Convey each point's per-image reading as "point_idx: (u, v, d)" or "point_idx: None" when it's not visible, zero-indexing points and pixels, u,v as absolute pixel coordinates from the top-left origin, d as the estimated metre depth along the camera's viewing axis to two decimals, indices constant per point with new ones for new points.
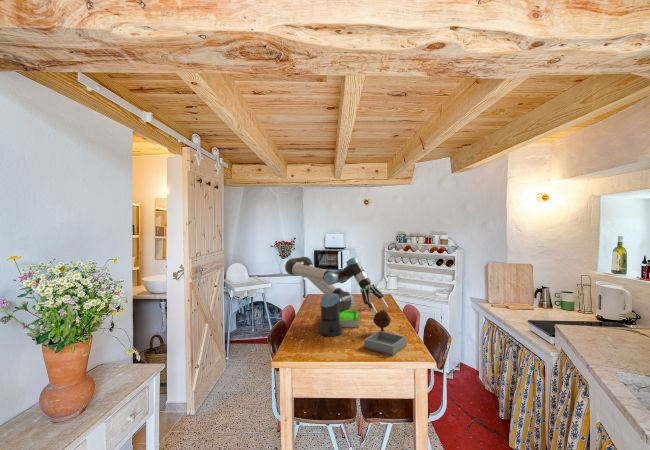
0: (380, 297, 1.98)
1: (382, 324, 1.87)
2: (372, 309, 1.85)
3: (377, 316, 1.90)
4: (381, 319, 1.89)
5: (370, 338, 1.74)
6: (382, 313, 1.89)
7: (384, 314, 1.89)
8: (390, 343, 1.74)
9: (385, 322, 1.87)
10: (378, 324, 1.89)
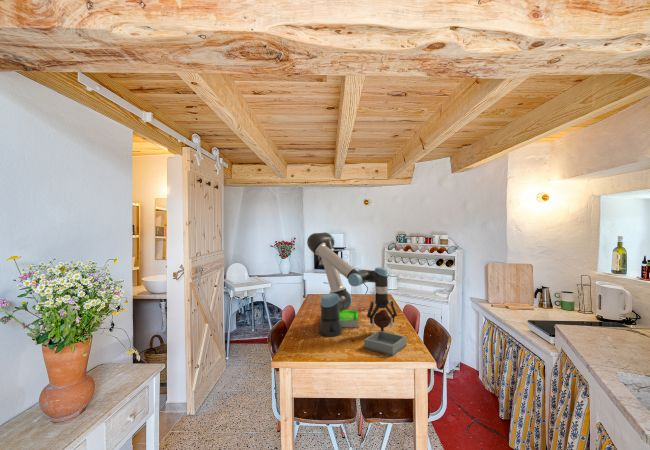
0: (391, 316, 1.93)
1: (382, 324, 1.87)
2: (372, 324, 1.92)
3: (377, 316, 1.90)
4: (381, 319, 1.89)
5: (370, 338, 1.74)
6: (382, 313, 1.89)
7: (384, 314, 1.89)
8: (390, 343, 1.74)
9: (385, 322, 1.87)
10: (378, 324, 1.89)
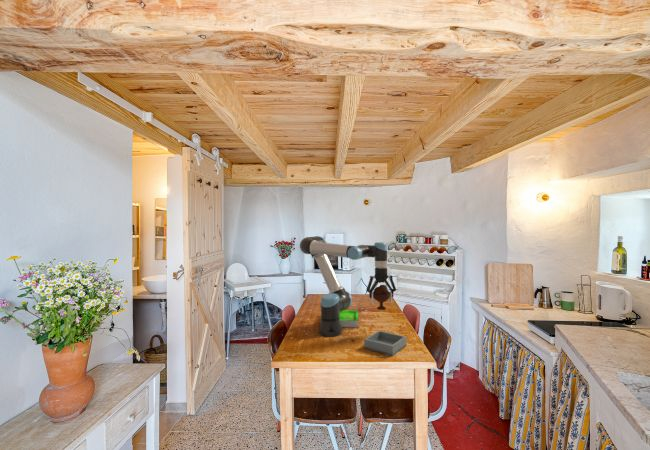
0: (391, 290, 1.93)
1: (381, 298, 1.87)
2: (371, 299, 1.92)
3: (376, 290, 1.90)
4: (380, 293, 1.89)
5: (370, 338, 1.74)
6: (381, 287, 1.89)
7: (383, 288, 1.89)
8: (390, 343, 1.74)
9: (384, 296, 1.87)
10: (377, 298, 1.89)
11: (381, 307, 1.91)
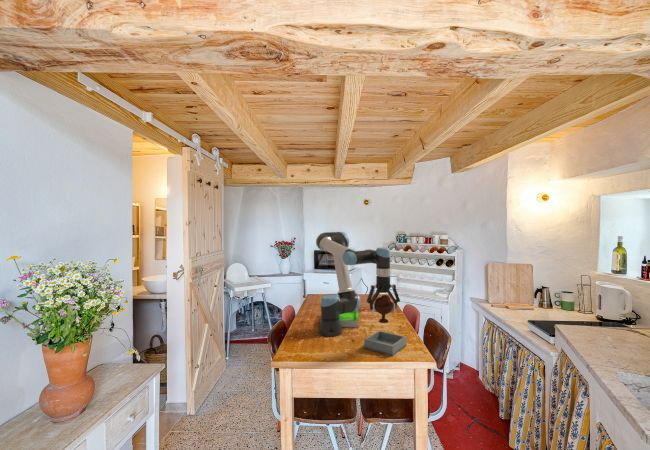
0: (394, 301, 1.74)
1: (384, 310, 1.68)
2: (372, 310, 1.72)
3: (378, 301, 1.70)
4: (383, 305, 1.69)
5: (370, 338, 1.74)
6: (384, 298, 1.69)
7: (386, 299, 1.69)
8: (390, 343, 1.74)
9: (387, 308, 1.68)
10: (379, 310, 1.69)
11: (383, 320, 1.72)
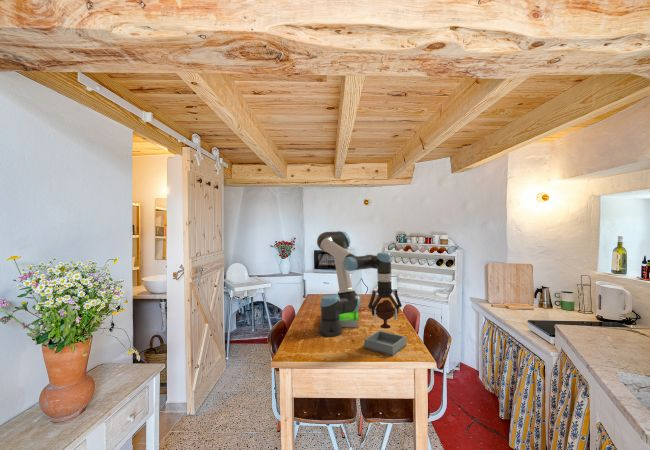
0: (395, 306, 1.73)
1: (385, 315, 1.67)
2: (373, 316, 1.71)
3: (380, 307, 1.69)
4: (384, 310, 1.68)
5: (370, 338, 1.74)
6: (385, 303, 1.69)
7: (387, 304, 1.68)
8: (390, 343, 1.74)
9: (389, 313, 1.67)
10: (381, 316, 1.68)
11: (385, 325, 1.71)
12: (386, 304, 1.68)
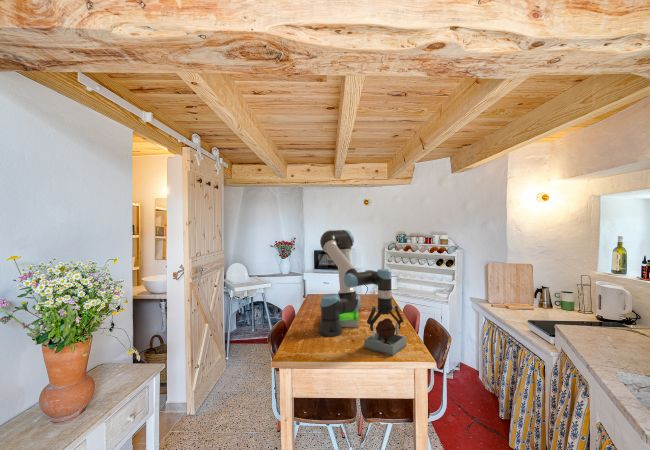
0: (397, 322, 1.73)
1: (386, 334, 1.67)
2: (372, 331, 1.71)
3: (380, 325, 1.70)
4: (385, 329, 1.68)
5: (370, 338, 1.74)
6: (386, 322, 1.69)
7: (388, 323, 1.68)
8: (390, 343, 1.74)
9: (389, 332, 1.67)
10: (381, 334, 1.68)
11: None
12: (387, 323, 1.68)
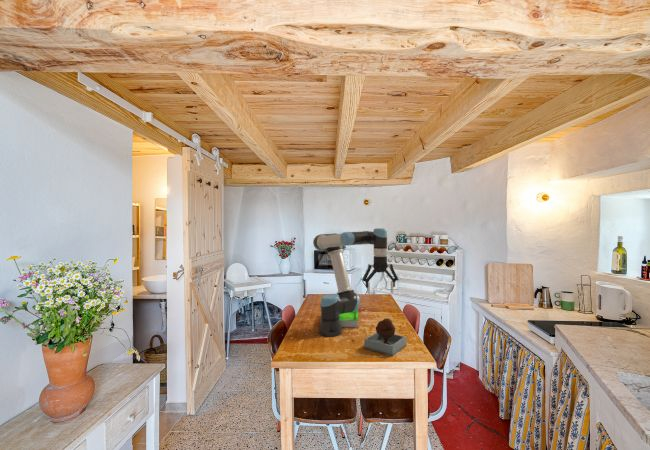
0: (392, 280, 1.77)
1: (386, 334, 1.67)
2: (367, 288, 1.76)
3: (380, 325, 1.70)
4: (385, 329, 1.69)
5: (370, 338, 1.74)
6: (386, 322, 1.69)
7: (388, 323, 1.68)
8: (390, 343, 1.74)
9: (389, 332, 1.67)
10: (381, 334, 1.69)
11: None
12: (387, 323, 1.69)
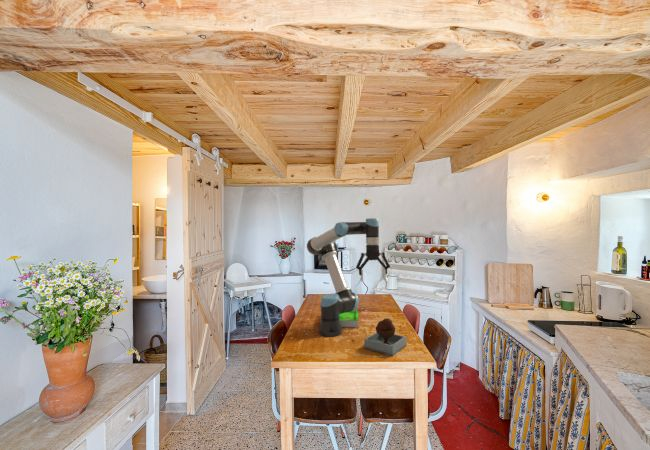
0: None
1: (386, 334, 1.67)
2: (361, 276, 1.84)
3: (380, 325, 1.70)
4: (385, 329, 1.69)
5: (370, 338, 1.74)
6: (386, 322, 1.69)
7: (388, 323, 1.68)
8: (390, 343, 1.74)
9: (389, 332, 1.67)
10: (381, 334, 1.69)
11: None
12: (387, 323, 1.69)
